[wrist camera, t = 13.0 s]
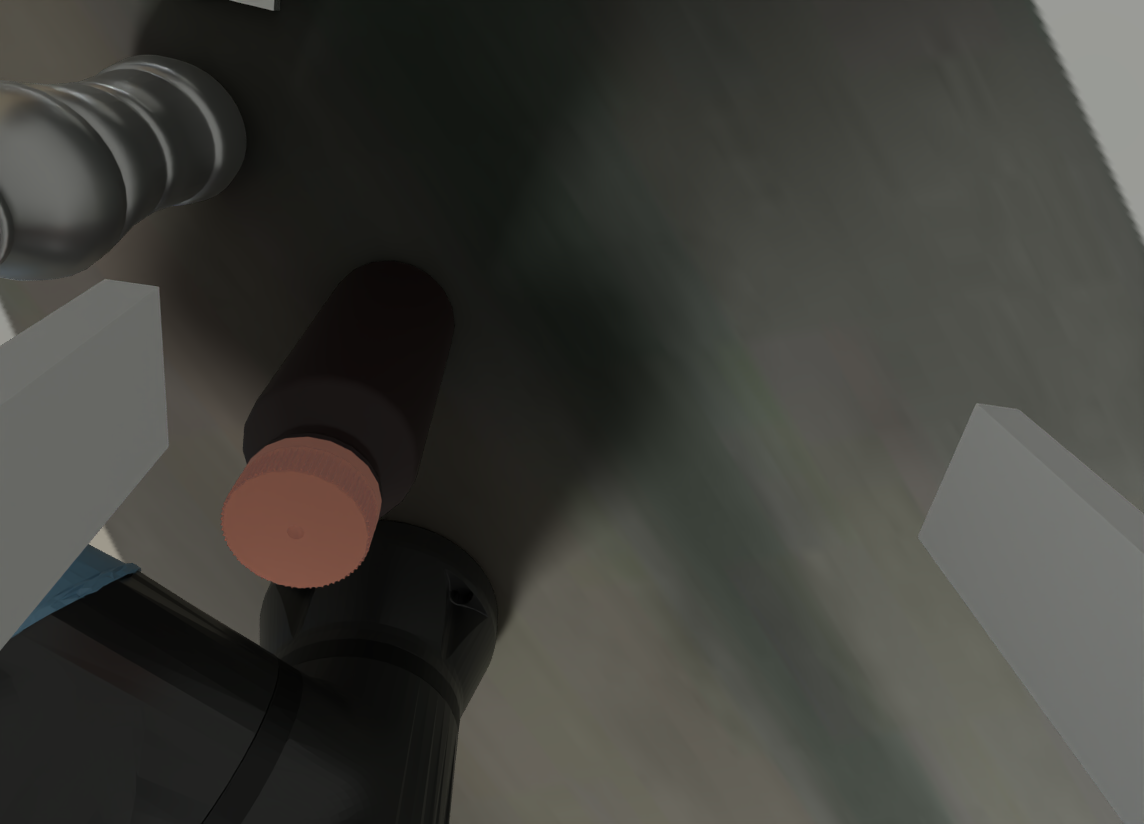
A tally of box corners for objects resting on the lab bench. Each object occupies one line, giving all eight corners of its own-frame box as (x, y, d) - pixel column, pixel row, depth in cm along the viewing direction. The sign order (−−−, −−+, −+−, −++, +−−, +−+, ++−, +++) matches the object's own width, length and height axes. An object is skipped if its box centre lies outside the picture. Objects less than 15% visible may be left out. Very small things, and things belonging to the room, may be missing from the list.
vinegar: (313, 273, 43) (153, 468, 25) (434, 245, 43) (358, 423, 25) (356, 384, 46) (240, 627, 28) (470, 359, 46) (424, 590, 28)
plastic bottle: (221, 217, 42) (-17, 383, 24) (95, 133, 39) (-270, 246, 22) (283, 113, 39) (72, 212, 22) (152, 18, 37) (-201, 40, 20)
